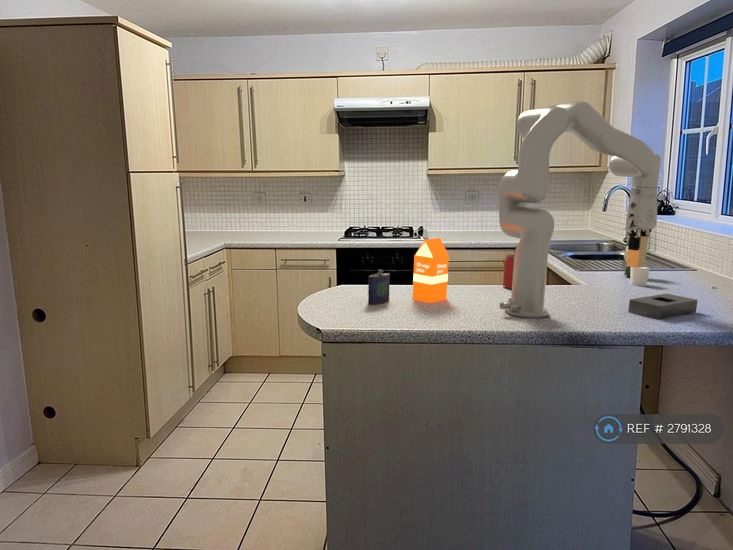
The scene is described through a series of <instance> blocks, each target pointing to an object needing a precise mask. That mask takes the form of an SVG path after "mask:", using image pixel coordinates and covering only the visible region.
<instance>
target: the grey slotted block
mask: <svg viewBox="0 0 733 550" xmlns="http://www.w3.org/2000/svg"><path fill="white" fill-rule="evenodd" d="M697 306H698V299H695V298H691V297H685V296H680V295H675V294H671V293H661V294H655V295H649V296H642V297H637V298H636V297H635V298H629V303H628V311H627V313H631V314H634V315H635V314H636V315H639V316H644V317H648V318H651V317H652V319H656V320H663V319H664V320H665V319H668V318H674V317H678V316H683V315H689V314H694V313H696V312H697Z"/></svg>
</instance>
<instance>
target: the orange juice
mask: <svg viewBox="0 0 733 550" xmlns="http://www.w3.org/2000/svg"><path fill="white" fill-rule="evenodd" d="M444 245H445V244H444V243H443V241H442V239H441V237H437V238H428V239H427V238H426V239H424V240H423V242H422V243H421V245H420V246H419V248H418V250H417V251H416V253H415V254H414V257H413V259H414V260H413V274H412V275H413V276H412V277H413V278H412V279H413V280H412V300H414V301H415V300H416V301H419V302H424V303H429V304H432V303H433V304H434V303H436V302H440V301H444V300H447V297H448V296H447V295H448V294H447V293H448V281H449V279H448V278H449V257H450V255H449V254H448V251H447V249H446V247H445V246H444Z"/></svg>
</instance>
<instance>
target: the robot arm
mask: <svg viewBox="0 0 733 550" xmlns="http://www.w3.org/2000/svg"><path fill="white" fill-rule="evenodd" d="M516 131H517V133H518V135H520V137H522V138H523V140H522V142H521V144H520V146H519V150H518V159H517V160H518V161H517V169H513V170H509V171H507V172H506V173H505V174H504V175H502V178H501V179H500V181H499V185H498V220H499V226H500V229H501V231H502V232H503V233H504V234H505V235H506V236H509V237H511V238H517V239H520V240H519V242H518V244H517V246H516V248H515V251H514V254H513V255H514V269H513V282H512V289H511V294H510V295H511V297H509V298H508V300H507V301H504V302H500V303H499V309H500V310H504V312H505V313H507V314H508V315H510V316H511V315H512V316H515V317H518V318H519V317H520V318H525V319H527V318H528V319H532V318H533V319H539V318H546V317H547V316H549V310H548V309H547V308H544V304H545V294H546V283H547V271H548V257H549V249H550V245H551V241H552V237H553V234H554V231H555V220H554V217H553V215H552V214H551V213H550V212H549V211H548V210H547V209H543V208H540V207H532V206H526V205H527V204H539V203H541V202H542V203H543V202H544V201H545V200H546V199H547V198H548V196H549V193H550V192H549V191H550V154H551V150H552V148H553V145H554V144H555V143H556V141H557V140H558V139H559V137H561V136H562V135H563V133H568V132H569V133H572V134H574V135H575V136H576V137H578V138H579V139H580V141H582V142H583V143H584V144H585V145H586V146H587V147H588V148H589V149H590V150H591V151H594V152H597V153H599V154H604V155H606V156H611V158H610V160H609V163H608V168H609V171H610V172H611V173H612V174H613V175H615V176H617V177H621V178H622V177H623V178H631V177H632V180H631V185H630V186H631V188H630V196H629V198H630V199H629V203H628V206H627V212H626V217H625V218H626V219H625V220H626V221H625V227H624V230H625V231H626V232H627V234H628V235H627V237H628V245H627V246H628V249H629V250H636V251H637V250H638V246H639V238H638V236H647V237H648V238H650V234H651V232H652V230H653V229H654V228H655V227H656V226H657V221H658V220H657V219H658V197H657V194H658V187H659V179H660V178H659V177H660V170H661V169H660V168H661V155H659V154H658V153H655V152H654V151H653V150H652V149H651V148H650V147H649V146H648V145H647V144H646V143H645V142H643V141H642V140H641V139H639V138H637V137H635V136H633V135H630V133H629V134H628V133H626V132H624V131H622V130H619V129H617V128H615V127H613V126H612V124H610V123H609V122H608V120H606V118H604V116H602V115H601V113H600V112H598V111H597V110H596V109H595V108H594V107H593V106H592V105H591V104H590V103H588V102H586V101H573V102H572V101H571V102H565V103H559V104H554V105H550V106H549V105H548V106H545V107H540V108H535V109H528V110H526V111H524V112H522V113H521V114H520V115H519V117H518V118H517V120H516Z"/></svg>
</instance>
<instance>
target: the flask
mask: <svg viewBox="0 0 733 550" xmlns="http://www.w3.org/2000/svg"><path fill="white" fill-rule="evenodd" d="M377 271H378V272H377V273H372V274H371V275H369V276H368V277H367V278H368V279H367V280H368V282H367V285H368V287H367V288H368V289H367V290H368V291H367V295H368V300H367V301H368V302H367V305H369V306H370V305H371V306H374V305H380V304H384V303H388V302H389V301H390V287H391V285H390V281H391V280H390V277H391V274H390V273H388V272H387V273H386V272H385V273H383V272H384V270H383V269H377Z"/></svg>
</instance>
